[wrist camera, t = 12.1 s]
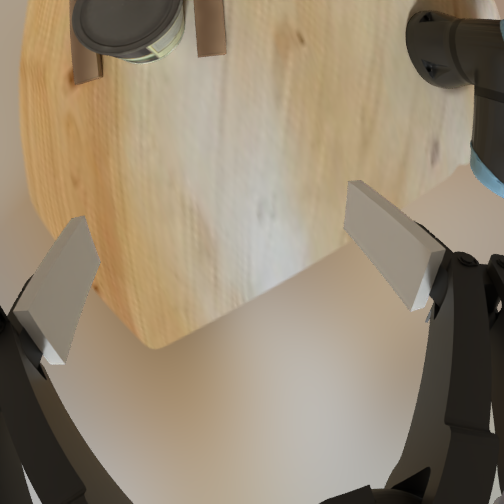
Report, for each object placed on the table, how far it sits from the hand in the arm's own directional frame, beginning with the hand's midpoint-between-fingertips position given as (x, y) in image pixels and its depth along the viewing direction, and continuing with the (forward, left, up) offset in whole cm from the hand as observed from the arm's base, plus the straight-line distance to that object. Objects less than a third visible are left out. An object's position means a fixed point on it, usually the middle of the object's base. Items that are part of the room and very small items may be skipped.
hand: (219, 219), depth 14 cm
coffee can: (+6, -16, -28) cm, 33 cm away
